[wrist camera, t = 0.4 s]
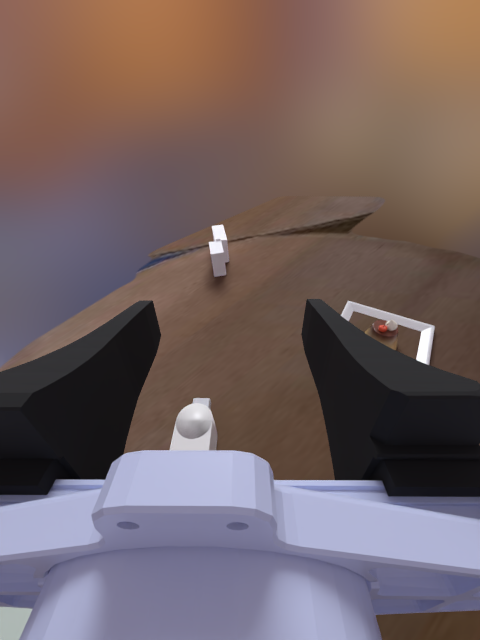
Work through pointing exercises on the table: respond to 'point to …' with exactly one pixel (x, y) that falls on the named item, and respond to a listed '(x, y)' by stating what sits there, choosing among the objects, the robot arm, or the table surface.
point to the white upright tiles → (219, 251)
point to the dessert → (393, 328)
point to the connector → (195, 427)
